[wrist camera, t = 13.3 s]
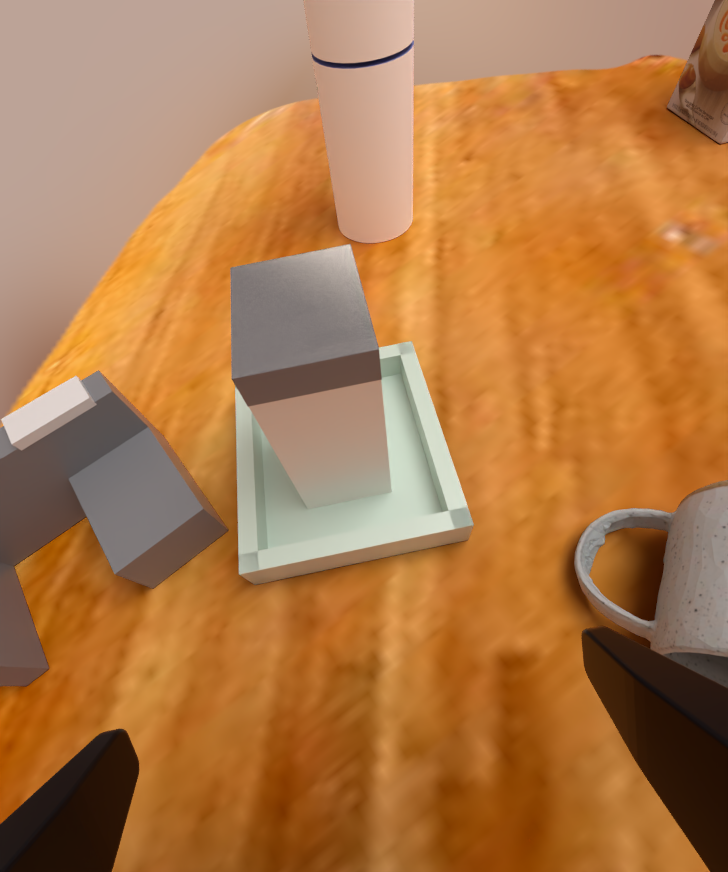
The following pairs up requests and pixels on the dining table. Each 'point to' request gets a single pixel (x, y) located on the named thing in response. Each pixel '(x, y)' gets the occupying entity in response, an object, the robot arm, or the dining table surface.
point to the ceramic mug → (676, 579)
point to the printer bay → (90, 500)
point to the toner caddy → (312, 372)
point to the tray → (357, 519)
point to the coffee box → (706, 78)
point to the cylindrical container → (366, 110)
